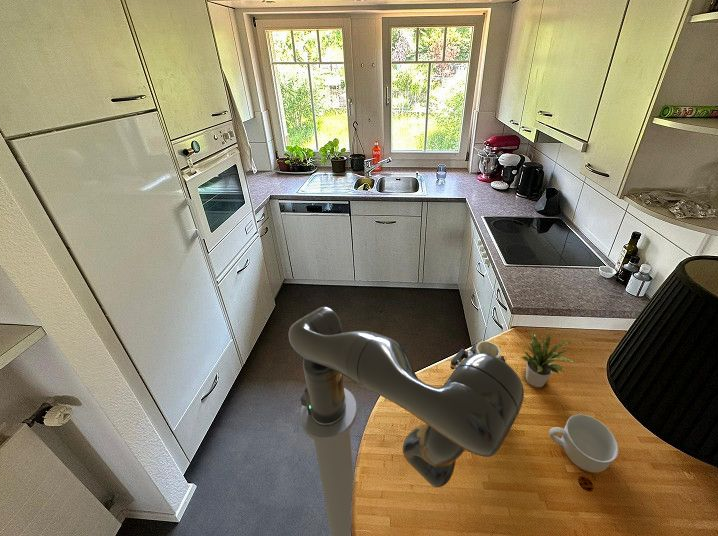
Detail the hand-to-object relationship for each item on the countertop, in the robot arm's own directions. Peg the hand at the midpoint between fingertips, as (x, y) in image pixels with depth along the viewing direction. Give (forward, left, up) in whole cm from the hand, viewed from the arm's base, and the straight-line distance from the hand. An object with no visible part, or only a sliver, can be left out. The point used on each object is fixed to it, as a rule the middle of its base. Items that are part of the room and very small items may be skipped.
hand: (489, 352), depth 88 cm
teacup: (+23, -10, -16) cm, 30 cm away
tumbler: (-1, -2, -7) cm, 7 cm away
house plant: (+16, +9, -16) cm, 24 cm away
